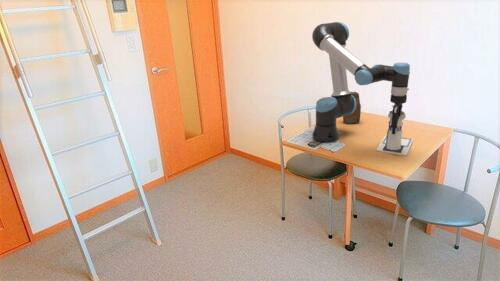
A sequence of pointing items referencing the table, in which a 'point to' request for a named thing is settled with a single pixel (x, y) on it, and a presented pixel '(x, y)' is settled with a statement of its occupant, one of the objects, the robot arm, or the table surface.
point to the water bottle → (397, 143)
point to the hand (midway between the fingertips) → (394, 136)
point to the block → (355, 115)
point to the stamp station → (403, 151)
